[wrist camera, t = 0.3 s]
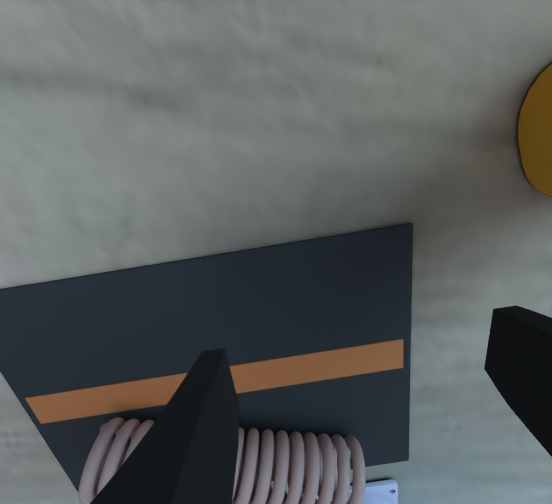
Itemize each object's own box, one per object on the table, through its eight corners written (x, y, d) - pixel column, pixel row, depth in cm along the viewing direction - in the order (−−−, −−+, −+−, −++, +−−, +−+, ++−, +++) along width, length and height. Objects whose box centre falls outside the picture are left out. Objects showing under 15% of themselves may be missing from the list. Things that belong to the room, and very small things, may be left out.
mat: (407, 457, 26) (408, 461, 26) (89, 505, 26) (88, 509, 26) (411, 223, 18) (413, 224, 18) (-44, 296, 18) (-48, 298, 18)
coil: (71, 519, 19) (358, 531, 21) (60, 478, 17) (381, 496, 19) (105, 441, 23) (343, 457, 25) (99, 400, 21) (360, 421, 23)
